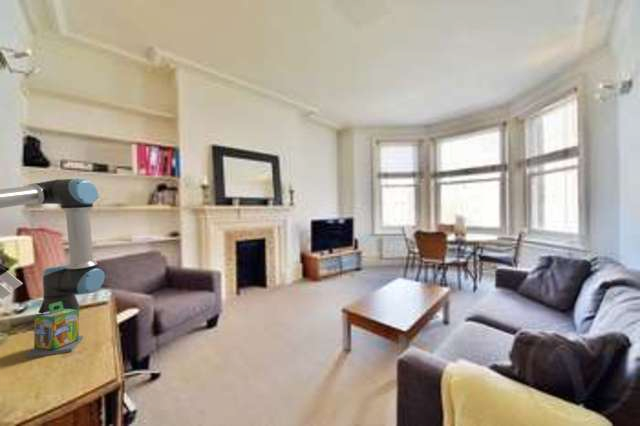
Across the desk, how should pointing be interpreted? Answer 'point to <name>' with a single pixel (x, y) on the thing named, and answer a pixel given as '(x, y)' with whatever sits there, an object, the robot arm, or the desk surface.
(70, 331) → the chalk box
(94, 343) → the desk surface
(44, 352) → the charcoal mat
